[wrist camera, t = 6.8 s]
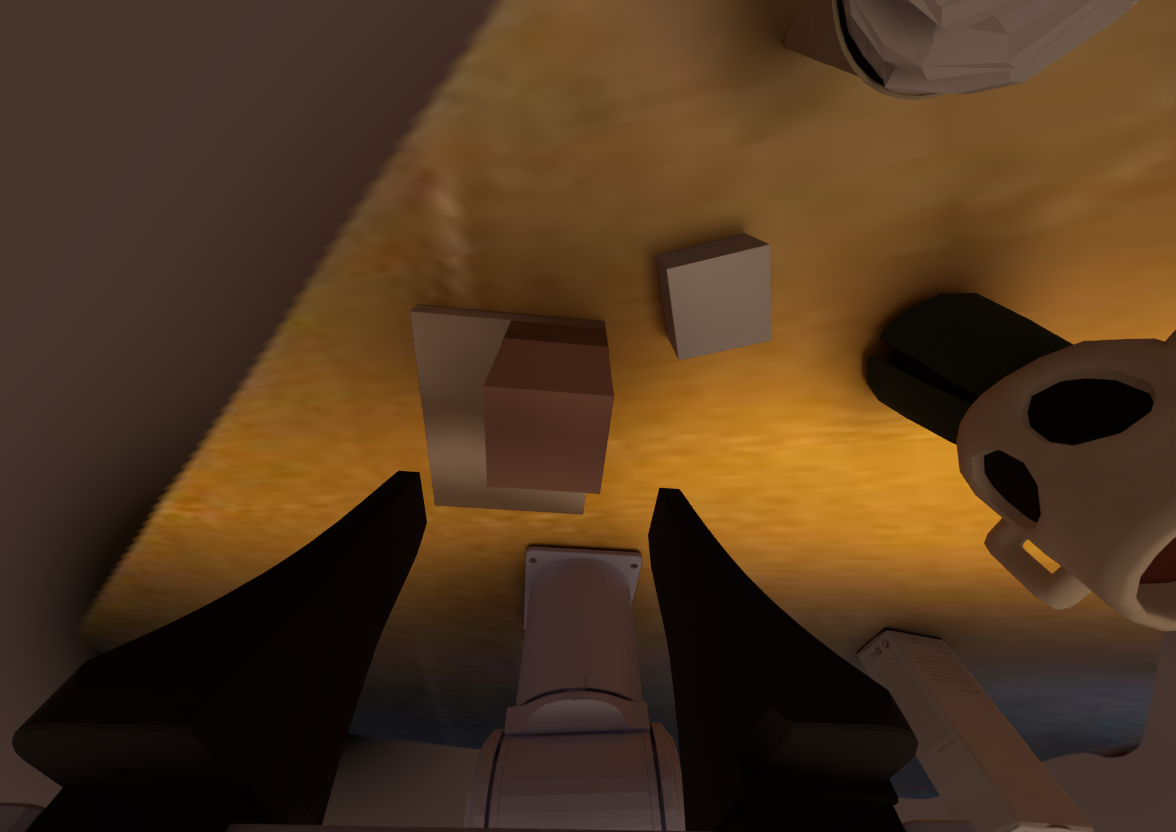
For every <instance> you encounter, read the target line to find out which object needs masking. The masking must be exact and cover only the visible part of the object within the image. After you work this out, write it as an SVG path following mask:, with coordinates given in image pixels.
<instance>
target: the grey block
mask: <svg viewBox="0 0 1176 832" xmlns="http://www.w3.org/2000/svg"><path fill="white" fill-rule="evenodd" d="M656 260H657V267H658V274H659V281H660V288H661V295H662V302H663V309H664V316H665V323H666V330H667V337H668V339H669V341H670V343H671V345H672V347H673V349H674V351H675V353H676V356H677V358H678V360H683V359H687V358H692V357H696V356H701V355H706V354H710V353H715V352H719V351H724V350H729V349H733V348H738V347H742V346H747V345H751V344H756V343H761V342H765V341H770V340H771V301H770V244H768V243H766V242H763V241H761V240H759V239H756V238H754V237H752V236H750V235H747V234H742V235H738V236H734V237H730V238H726V239H722V240H718V241H714V242H710V243H705V244H701V245H697V246H693V247H689V248H685V249H681V250H677V251H673V252H669V253H665V254H661V255H657V256H656Z"/></svg>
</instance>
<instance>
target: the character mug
mask: <svg viewBox="0 0 1176 832" xmlns="http://www.w3.org/2000/svg"><path fill="white" fill-rule="evenodd" d="M880 338H882V339H883V340H885V341H887V342H888V343H890V344H891V345H893V346H895V347H896V350H895V351H894V352H893V353H892V355H891V359H890V363H889V364H888V363H886V362H884V361H883V360H881V359H879V358H877V357H875V356H873V355H872V354H871V355H870V357H869V358H868V360H867V384H868V385H869V387H870V388H871V390H872V391H873V393H874V394H875V396H876V397H877V399H878V400H879V401H880V402H882V403H884V404H885V405H887V406H888V407H890V408H891V409H893V410H895V411H896V412H898V413H899V414H901V415H902V416H904V417H906V418H907V419H909V420H911V421H913V422H915V423H917V424H919V425H920V426H922V427H924V428H926V429H928V430H930V431H931V432H933V433H935V434H937V435H939V436H941V437H942V438H944V439H946V440H948V441H950V442H952V443H954V444H956V445H957V451H958V460H959V469H960V473H961V474H962V476H963V477H964V479H965V480H966V482H967V483H968V485H969V486H970V488H971V489H972V491H973V492H974V494H975V495H976V496H977V497H978V498H980V499H981V500H982V501H983V502H984V503H986V504H987V505H988V506H989V507H990V508H991V509H993V510H994V511H995V512H996V513H997V514H999V515H1000V516H1001V517H1002V519H1001V520H1000V521H999V522H998V523H997V524H996V525H995V526H994V527H993V529H992V530H991V531H990V532H989V533H988V534H987V537H986V540H985V542H984V544H985V545H986V547H987V549H988V550H989V552H990V554H991V555H992V556H994V557H995V558H996V559H997V560H998V561H999V562H1000V563H1001V564H1002V565H1003V566H1004V567H1005V568H1006V569H1007V570H1008V571H1009V572H1010V573H1011V574H1012V575H1013V576H1014V577H1015V578H1016V579H1017V580H1018V581H1019V582H1020V583H1022V584H1023V585H1024V586H1025V587H1026V588H1027V589H1028V590H1029V591H1030V592H1031V593H1032V594H1033V595H1034V596H1035V597H1037V598H1038V599H1040V600H1041V601H1043V602H1045V603H1046V604H1048V605H1050V606H1051V607H1053V608H1055V609H1056V610H1061V609H1065V608H1068V607H1072V606H1073V605H1075V604H1076V603H1078V602H1079V601H1080V600H1082V599H1083V598H1084V597H1085V596H1087V595H1088V594H1089V593H1090V592H1091V591H1092V592H1093V593H1094V594H1096V595H1097V596H1098V597H1099V598H1100V599H1102V600H1103V601H1104V602H1105V603H1106V604H1107V605H1109V606H1110V607H1111V608H1113V609H1114V610H1116V611H1117V612H1119V613H1120V614H1122V615H1123V616H1125V617H1126V618H1128V619H1129V620H1131V621H1132V622H1135V623H1138V624H1142V625H1145V626H1148V627H1152V628H1155V629H1158V630H1161V631H1176V330H1175V331H1174V332H1173V333H1172V334H1171V335H1170V337H1169V338H1168V339H1167V340H1166V341H1165V342H1164V341H1161V340H1157V339H1118V340H1098V341H1083V342H1080V343H1077V344H1074V345H1073V344H1071V343H1070V342H1068V341H1066V340H1064V339H1062V338H1061V337H1059V336H1057V335H1055V334H1054V333H1052V332H1050V331H1048V330H1047V329H1045V328H1043V327H1041V326H1040V325H1038V324H1036V323H1034V322H1033V321H1031V320H1029V319H1027V318H1025V317H1023V316H1021V315H1019V314H1017V313H1015V312H1013V311H1011V310H1009V309H1007V308H1005V307H1003V306H1001V305H999V304H997V303H995V302H993V301H991V300H989V299H987V298H985V297H983V296H981V295H979V294H977V293H965V294H940V295H938V296H935V297H933V298H931V299H929V300H926V301H924V302H922V303H920V304H918V305H915V306H913V307H911V308H909V309H907V310H906V311H905V312H904V313H903V314H902V315H900V316H899V317H898V318H897V319H896V320H895V321H894V322H893V323H891V324H890V325H889V326H888V327H887V328H886V329H885V330H884V331H883V333H882V335H881V337H880ZM1027 539H1028V540H1030V541H1031V542H1032V543H1033V544H1034V545H1035V546H1037V547H1038V548H1039V549H1040V550H1041V551H1042V552H1043V553H1045V554H1046V555H1047V556H1049V557H1050V558H1051V559H1053V560H1054V561H1055V562H1057V563H1058V564H1059V565H1061V567H1060V568H1059V569H1057V570H1056V571H1055V572H1054V573H1053V574H1052V573H1050V572H1049V571H1048V570H1047V569H1046V568H1045V567H1044V566H1043V565H1041V564H1040V563H1039V562H1038V561H1037V560H1036V559H1035V558H1033V557H1032V556H1031V555H1030V554H1029V553H1028V552H1027V551H1025V549H1024V548H1023V544H1024V542H1025V541H1026V540H1027Z"/></svg>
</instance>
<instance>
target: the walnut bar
mask: <svg viewBox="0 0 1176 832" xmlns="http://www.w3.org/2000/svg"><path fill="white" fill-rule="evenodd" d="M504 338H509V339H521V340H532V341H544V342H556V343H568V344H579V345H591V346H603V347H607V348H608V342H607V335H606V329H605V328H593V327H582V326H570V325H559V324H548V323H536V322H525V321H513V320H511V322H510V324H509V327H508V329H507V331H506V333H505V336H504ZM504 338H503V340H504ZM503 340H502V342H503ZM502 342H501V344H502ZM608 354H609V350H608Z"/></svg>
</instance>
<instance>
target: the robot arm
mask: <svg viewBox="0 0 1176 832" xmlns="http://www.w3.org/2000/svg"><path fill="white" fill-rule="evenodd" d="M426 524H427V519H426V512H425V506H424V499H423V492H422V485H421V479H420V472H409V471H398V472H397V473H395V474H394V475H393V476H392V477H391V478H389V479H388V480H387V481H386V482H385V483H383V484H382V485H381V486H380V487H379V488H378V489H376V490H375V491H374V492H373V493H372V494H371V495H369V496H368V497H367V498H366V499H365V500H363V501H362V502H361V503H360V504H359V505H357V506H356V507H355V508H354V509H353V510H351V511H350V512H349V513H348V514H346V515H345V516H344V517H343V518H342V519H340V520H339V521H338V522H336V523H335V524H334V525H333V526H331V527H330V528H329V529H327V530H326V531H325V532H323V533H322V534H321V535H319V536H318V537H317V538H315V539H314V540H313V541H311V542H310V543H309V544H307V545H306V546H304V547H303V548H301V549H300V550H298V551H297V552H296V553H294V554H293V555H291V556H290V557H288V558H286V559H285V560H283V561H282V562H280V563H279V564H277V565H276V566H274V567H272V568H271V569H269V570H268V571H266V572H264V573H263V574H261V575H259V576H258V577H256V578H254V579H252V580H251V581H249V582H247V583H245V584H244V585H242V586H240V587H238V588H237V589H235V590H233V591H231V592H230V593H228V594H226V595H224V596H223V597H221V598H219V599H217V600H215V601H213V602H211V603H209V604H208V605H206V606H204V607H202V608H200V609H198V610H196V611H194V612H192V613H190V614H188V615H186V616H184V617H182V618H180V619H178V620H176V621H174V622H172V623H170V624H168V625H165V626H163V627H161V628H159V629H157V630H155V631H153V632H151V633H148V634H146V635H144V636H142V637H139V638H137V639H135V640H133V641H130V642H128V643H126V644H123V645H121V646H119V647H117V648H114V649H112V650H110V651H108V652H105V653H103V654H101V655H99V656H96V657H94V658H91V659H89V660H87V661H86V662H85V663H84V664H82V665H81V666H80V667H79V668H78V669H77V670H76V671H75V672H74V673H73V674H72V675H71V676H70V677H69V678H68V680H66V682H65V683H64V684H62V686H61V687H60V688H59V689H57V691H56V692H55V693H54V694H53V695H52V696H51V697H50V698H49V699H48V700H47V701H46V702H45V703H44V704H43V705H42V706H41V707H40V708H39V709H38V710H37V711H36V712H35V713H34V714H33V715H32V716H31V717H30V718H29V719H28V720H27V721H26V722H25V723H24V724H23V725H22V726H21V727H20V728H19V729H18V730H17V731H16V732H15V734H14V736H13V738H12V745H13V747H14V750H15V752H16V753H17V754H18V755H19V756H20V757H21V758H22V759H23V760H25V761H26V762H27V763H29V764H30V765H31V766H33V767H34V768H36V769H37V770H39V771H40V772H42V773H43V774H44V775H46V776H47V777H49V778H50V779H52V780H53V781H54V782H56V783H58V784H59V785H60V786H62V787H63V788H62V789H61V791H60V792H59V793H58V794H57V795H56V797H55V798H54V799H53V800H52V801H51V803H50V804H49V805H48V806H47V807H46V808H45V807H42V806H38V805H34V804H27V803H5V802H0V832H977V830H976V828H975V827H974V825H973V824H972V823H970V822H968V821H966V820H912V821H908V822H904V823H901V821H900V819H899V817H898V815H897V812H896V810H895V808H894V806H893V805H895V804H897V803H898V796H897V794H896V792H895V790H894V788H893V786H892V784H891V782H890V780H889V778H891V777H892V776H893V775H894V774H895V773H896V772H898V771H899V770H900V769H901V768H902V767H904V766H905V765H906V764H907V763H908V762H909V761H910V760H911V759H912V758H913V757H914V756H915V754H916V751H917V747H918V743H919V742H918V740H917V738H916V736H915V734H914V733H913V731H912V729H911V727H910V725H909V724H908V722H907V720H906V718H905V716H904V715H903V713H902V711H901V709H900V708H899V706H898V705H897V703H896V701H895V700H894V698H893V697H892V695H891V694H890V692H889V691H888V689H886V688H885V687H883V686H882V685H880V684H879V683H877V682H876V681H874V680H873V679H872V678H870V677H869V676H867V675H866V674H864V673H863V672H861V671H860V670H858V669H857V668H856V667H854V666H853V665H851V664H850V663H848V662H847V661H845V660H844V659H843V658H841V657H840V656H839V655H837V654H836V653H835V652H833V651H832V650H831V649H829V648H828V647H827V646H825V645H824V644H823V643H822V642H820V641H819V640H818V639H816V638H815V637H814V636H813V635H811V634H810V633H809V632H808V631H806V630H805V629H804V628H803V627H802V626H800V625H799V624H798V623H797V622H796V621H795V620H793V619H792V618H791V617H790V616H789V615H788V614H787V613H785V612H784V611H783V610H782V609H781V608H780V607H779V606H778V605H776V604H775V603H774V602H773V601H772V600H771V599H770V598H769V597H768V596H767V595H766V594H765V593H764V592H763V591H762V590H761V589H760V588H759V587H758V586H757V585H756V584H755V583H754V582H753V581H752V580H751V579H750V578H749V577H748V576H747V575H746V574H745V573H744V572H743V571H742V569H741V568H740V567H739V566H738V565H737V564H736V563H735V561H734V560H733V559H732V558H731V557H730V556H729V554H728V553H727V552H726V551H725V550H724V548H723V547H722V546H721V545H720V543H719V542H718V541H717V540H716V538H715V537H714V536H713V535H712V533H711V532H710V531H709V529H708V528H707V527H706V525H705V524H704V523H703V521H702V520H701V519H700V517H699V516H698V514H697V513H696V512H695V510H694V509H693V507H692V506H691V505H690V503H689V502H688V500H687V499H686V498H685V496H684V495H683V493H682V492H681V491H680V490H679V489H670V488H659V492H658V496H657V500H656V504H655V509H654V513H653V517H652V521H651V525H650V529H649V534H648V539H649V551H650V561H651V569H652V573H653V578H654V583H655V588H656V592H657V597H658V601H659V606H660V611H661V615H662V620H663V624H664V629H665V634H666V638H667V644H668V650H669V656H670V664H671V673H672V681H673V689H674V699H675V708H676V718H677V728H678V739H679V750H680V761H681V770H680V765H679V760H678V755H677V751H676V747H675V743H674V740H673V738H672V737H671V736H670V734H669V733H668V732H667V731H666V730H664V727H663V726H662V725H661V723H653V724H650V732H649V722H648V713H647V705H646V703H645V702H642V695H641V686H640V677H639V668H638V658H637V649H636V640H635V631H634V622H633V613H632V601H633V597H634V593H635V589H636V585H637V581H638V576H639V572H640V568H641V564H642V556H641V554H640V553H637V552H623V551H605V550H587V549H570V548H552V547H529V548H528V549H527V551H526V566H525V605H524V630H525V637H524V645H523V653H522V661H521V670H520V678H519V686H518V694H517V703H516V707H509V708H508V710H507V718H506V725H505V729H497V730H495V731H493V732H492V734H491V735H490V736H489V738H488V740H487V741H486V742H485V744H484V745H483V746H482V748H481V749H480V751H479V754H478V756H477V759H476V762H475V765H474V769H473V773H472V778H471V782H470V787H469V792H468V798H467V805H466V812H465V821H464V827H462V828H461V827H404V826H403V827H402V826H401V827H400V826H399V827H397V826H341V825H322V822H323V819H324V815H325V812H326V808H327V804H328V800H329V797H330V794H331V790H332V786H333V783H334V779H335V775H336V772H337V768H338V764H339V761H340V758H341V754H342V751H343V748H344V744H345V741H346V738H347V735H348V731H349V728H350V725H351V721H352V718H353V715H354V712H355V709H356V706H357V703H358V699H359V696H360V693H361V690H362V687H363V684H364V681H365V678H366V675H367V672H368V669H369V666H370V663H371V660H372V658H373V655H374V652H375V649H376V646H377V643H378V640H379V638H380V636H381V633H382V631H383V628H384V626H385V624H386V621H387V619H388V617H389V615H390V613H391V610H392V608H393V606H394V604H395V602H396V600H397V597H398V595H399V593H400V591H401V589H402V586H403V584H404V582H405V580H406V578H407V575H408V573H409V571H410V569H411V567H412V564H413V562H414V560H415V558H416V555H417V553H418V550H419V547H420V543H421V540H422V537H423V534H424V530H425V527H426ZM533 558H534V559H533ZM681 773H682V776H681Z"/></svg>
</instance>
